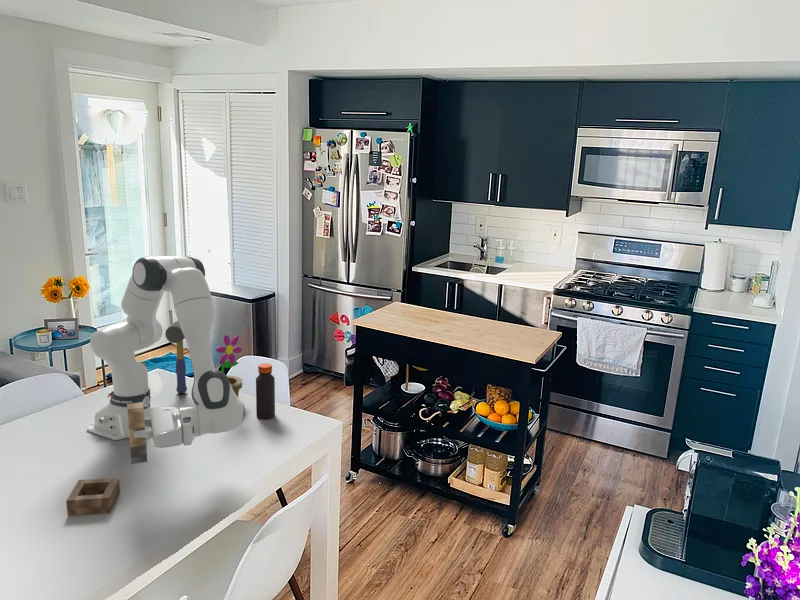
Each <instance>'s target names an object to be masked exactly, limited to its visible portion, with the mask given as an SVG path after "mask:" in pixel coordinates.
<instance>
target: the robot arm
mask: <svg viewBox="0 0 800 600" xmlns="http://www.w3.org/2000/svg"><path fill="white" fill-rule="evenodd" d="M205 277H206V269H205V266H204V264H203V262H202V261H201V260H200V259H198V258H195V257H192V256H180V255H162V256H161V255H159V256H151V255H149V256H143V257H140V258H139V259H137V260H136V261H135V263H134V264H133V267H132V274H131V276H130V277H129V280H128V283H127V286H126V289H125V292H124V294H123V296H122V299H121V303H120V305H121V309H122V311H123V312H124V314H125V315H127V316H126V318H125V319H124V320H122V321H119V322H115V323H111V324H108V325H105V326H103V327H101V328H99V329H98V330H96V331H94V332H93V333H92V335H91V336H90V341H89V344H90V349H91V352H93V354H94V356H96V357H97V358H99V359H101V360H103V361H104V363H106V364H107V365H108V368H109V370H110V374H111V378H112V388H113V389H112V391H111V392H109V393H108V394H106V398H110V399H109V401H108V402H107V403H106V404H104V405H102V406H101V407H99V409H98V410H97V411H96V412H95V415H94V419H93V420H94V421H92V423H90V424H89V425H87V428H86V429H87V432H89V433H92V434H95V435H98V436H102V437H103V438H108V439H110V440H111V441H119V440H125V439H128V438H129V426H128V412H127V404H131V403H139V402H143V407H144V421H145V430H140V429H137V430H134V438H139V437H143V438H146V439H152V441H153V445H154V446H153V447H154V448H160V449H164V448H172V447H178V446H181V445H183V446H191V445H192V444H193V441H194V439H195V438H197V437H202V436H203V435H208V434H212V435H214V434H215V435H217V434H221V433H227V432H231V431H234V430H237V429H239V428H241V427H240V426H242V424H243V422H244V418H245V405H244V402H243V401H242V400H241V399H240V398H239V396H238V397H237V395H236V394H235V392H234V391H233V389H232V386H231V384H230V381H229V379H228V377H227V376H228V375H227V374H225V372H224V373H223V372H221V370H219V369H218V370H217V369H215V365H214V359H213V354H212V349H211V347H212V346H211V339H212V337H211V336H212V333H213V329H214V325H215V305H214V301H213V296H212V293H211V291H210V288H209V285H208V282H207V280H206V278H205ZM165 292H170V294H171V296H172V303H173V308H174V312H175V315H176V318H177V321H178V322H179V325H180V327H181V329H182V332H183V334H184V337H185V341H186V342H185V343H186V345H187V348H188V352H189V357H190V361H191V367H192V373H193V384H192V387H191V393H190V394H191V400H192V401H193V403H194V405H187V406H180V407H178V408H177V407H176V406H170V405H169V406H157V407H152V406H151V398H152V397H151V396H152V395H151V396H150V394H151V389H150V388H149V374H148V373H149V372H148V367H147V365H146V366H145V365H143V364H142V363H143V362H139V361H137V360H136V357H135V353H136V352H139V351H141V350H145V349H147V348H150V347H151V346H153V345H154V344H155V343H157V342H159V341H160V340H161V338H162V336H163V326H162V324H161V322H160V321H159V320H158V318H157V313H158V310H159V306H160V304H161V302H162V301H161V300H162V299H163V295H164V293H165Z"/></svg>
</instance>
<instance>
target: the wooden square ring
mask: <svg viewBox="0 0 800 600" xmlns="http://www.w3.org/2000/svg"><path fill="white" fill-rule="evenodd" d="M120 494H121V484H120V477H111V478H110V477H109V478H95V479H93V478H92V479H79V480H78V481H77V483H76V484H75V485H74V487H73V488H72V491H71V493H70V494H69V495H68V497H67V499H65V500H66V512H67V517H72V516H85V515H86V516H89V515H101V514H111V513H112V511H113V508H114V507H115V504H116V502H117V500H118V498H119V497H120Z"/></svg>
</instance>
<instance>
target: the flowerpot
mask: <svg viewBox="0 0 800 600" xmlns="http://www.w3.org/2000/svg"><path fill="white" fill-rule="evenodd" d="M230 338H231V337H229V335H228V334H224V336H223V342H224V345H225V346H226V347H225V346H222V345H221V346H218V347H216V349H215V351H216V353H219V354H220V353H222V355H221V356H220V359H219V364H220V365H221V370H220V371H221V372H223V373H224V374H225V368H226V369H230V368H233V367H235V366H236V365H238V364H239V362H238V361H236V358H235V355H234V354H239V353H241V352H243V348H241V346H236V345H237V343H238V341H239V338H240V337H239V335H238V334H237V335H235V336H234V337H233V338H232V339H230ZM234 346H235V347H234ZM233 353H234V354H233ZM226 376H227V377H228V379H229V381H230V384H231V386H232V389H233V391H234V392H235V394H236V395H237V397H238V398H239V394H240V389H242V388H243V379H242V378H240V377H239V376H234V375H226Z"/></svg>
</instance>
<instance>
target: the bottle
mask: <svg viewBox="0 0 800 600" xmlns="http://www.w3.org/2000/svg"><path fill="white" fill-rule="evenodd" d="M257 367H258V368H257V369H258V371H257V372H258V375H257V377H256V378H255V394H256V396H255V397H256V399H255V405H256V409H255V411H256V418H257V419H259V420H263V421H265V420H271V419H273V418H275V417H276V402H275V401H276V396H275V395H276V391H275V389H276V387H275V386H276V383H275V381H276V379H275V378H276V377H275V376H273V374H272V372H273V365H272V364H271V363H268V362H266V363H260V364H258V366H257Z"/></svg>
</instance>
